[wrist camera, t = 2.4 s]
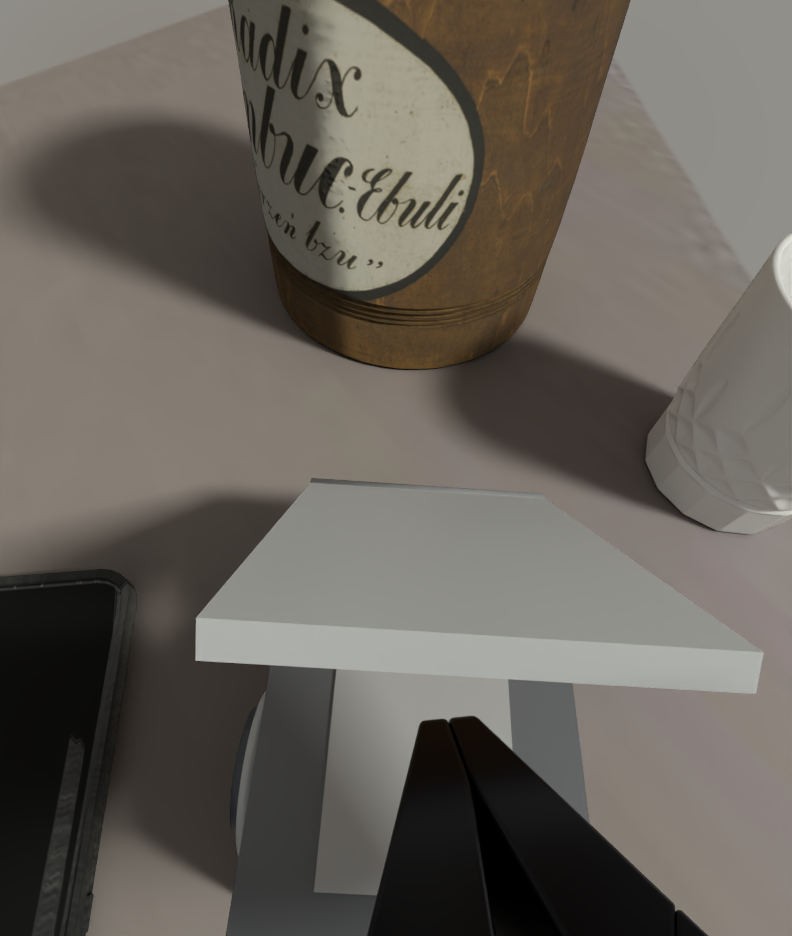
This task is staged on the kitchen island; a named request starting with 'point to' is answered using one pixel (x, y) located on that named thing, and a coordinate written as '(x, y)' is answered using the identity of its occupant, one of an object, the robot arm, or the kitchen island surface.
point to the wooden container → (417, 160)
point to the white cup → (735, 415)
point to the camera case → (361, 783)
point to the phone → (57, 740)
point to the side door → (462, 596)
